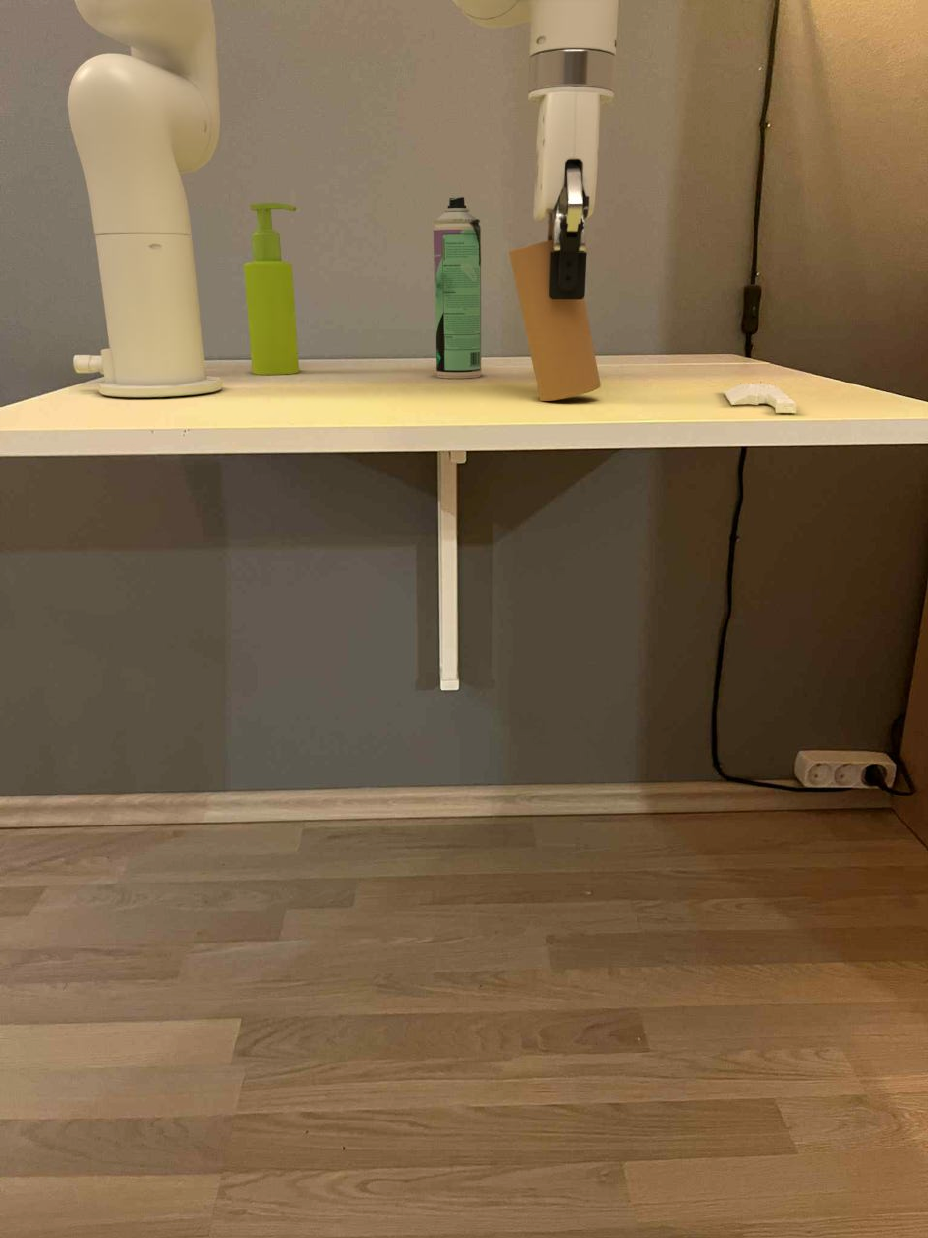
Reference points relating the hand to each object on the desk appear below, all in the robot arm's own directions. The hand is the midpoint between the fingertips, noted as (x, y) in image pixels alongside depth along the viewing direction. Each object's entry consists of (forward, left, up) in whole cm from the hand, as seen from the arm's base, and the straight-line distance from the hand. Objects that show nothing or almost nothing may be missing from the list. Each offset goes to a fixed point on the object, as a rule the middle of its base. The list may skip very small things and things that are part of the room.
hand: (562, 296), depth 90 cm
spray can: (-10, +24, -10) cm, 28 cm away
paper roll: (-4, 0, -3) cm, 5 cm away
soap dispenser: (-33, +31, -10) cm, 46 cm away
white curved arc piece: (+18, -4, -10) cm, 21 cm away
